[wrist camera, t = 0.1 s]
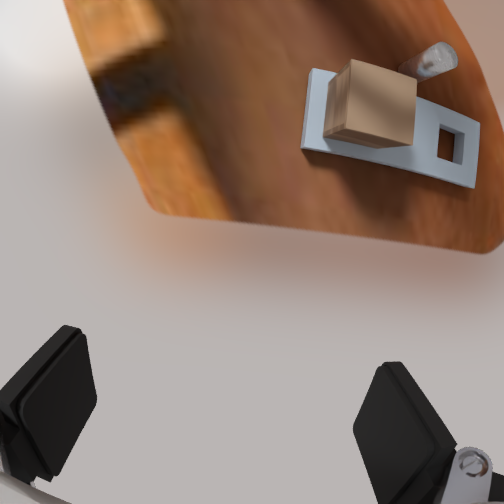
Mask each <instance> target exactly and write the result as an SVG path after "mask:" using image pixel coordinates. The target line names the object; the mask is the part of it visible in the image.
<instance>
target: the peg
mask: <svg viewBox="0 0 504 504" xmlns="http://www.w3.org/2000/svg"><path fill="white" fill-rule="evenodd" d="M457 64H458V57H457V55H456V52H455V51H454V49H453V48H452V47H451V46H450V45H448V44H447V43H445V42H439V43H437V44H435V45H433V46H431V47H430V48H428V49H426V50H424V51H423V52H421V53H419V54H417V55H416V56H414V57H412V58H411V59H409V60H407V61H406V62H404V63H402V64H401V65H400V66H399V67H398V73H400V74H403V75H406V76H409V77H412V78H414V79H417V83H419V82H422V81H424V80H426V79H429V78H431V77H434V76H436V75H438V74H441V73H443V72H446V71H448V70H451V69H453V68H455V67H456V66H457Z"/></svg>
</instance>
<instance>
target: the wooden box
mask: <svg viewBox="0 0 504 504" xmlns="http://www.w3.org/2000/svg"><path fill="white" fill-rule="evenodd" d="M416 93H417V79H414V78H412V77H409V76H406V75H403V74H400V73H397V72H394V71H391V70H388V69H385V68H382V67H379V66H376V65H372V64H369V63H365V62H362V61H358V60H354V59H351V60H350V61H349V62H348V63H347V64H346V65H345V66H344V67H343V68H342V69H341V70H340V71H339V72H338V73H337V74H336V75H335V76H334V77H333V78H332V79H331V80H330V81H329V82H328V91H327V101H326V110H325V119H324V128H323V136H322V137H323V138H329V139H334V140H339V141H344V142H348V143H353V144H358V145H362V146H367V147H371V148H375V149H381V148H390V147H401V146H411V145H413V138H414V127H415V113H416Z"/></svg>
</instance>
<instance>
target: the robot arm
mask: <svg viewBox="0 0 504 504" xmlns="http://www.w3.org/2000/svg"><path fill="white" fill-rule="evenodd" d="M96 403H97V395H96V390H95V385H94V380H93V376H92V369H91V364H90V358H89V352H88V345H87V339H86V336H85V334H82V331H81V329H79V328H76V327H72V326H68V325H64V326H62V327H61V328H60V329H59V330H58V331H57V332H56V333H55V334H54V335H53V336H52V337H51V338H50V339H49V340H48V341H47V342H46V343H45V344H44V345H43V346H42V347H41V348H40V349H39V350H38V351H37V352H36V353H35V354H34V355H33V356H32V357H31V358H30V359H29V360H28V361H27V362H26V363H25V364H24V365H23V366H22V367H21V368H20V370H19V371H18V372H17V373H16V374H15V375H14V376H13V377H12V378H11V379H10V380H9V381H8V382H7V383H6V385H5V386H4V387H3V388H2V389H1V390H0V504H71V503H68V502H66V501H64V500H61V499H59V498H56V497H54V496H51V495H49V494H47V493H45V492H42V491H40V490H38V489H36V488H35V484H34V480H35V478H36V476H38V477H40V478H42V479H44V480H46V481H48V482H51V480H52V478H53V476H58V475H59V474H60V472H61V470H62V468H63V466H64V464H65V462H66V460H67V458H68V456H69V454H70V452H71V450H72V448H73V446H74V445H75V443H76V441H77V439H78V437H79V435H80V433H81V431H82V429H83V428H84V426H85V424H86V422H87V420H88V419H89V417H90V415H91V413H92V411H93V409H94V408H95V406H96ZM353 433H354V436H355V438H356V441H357V444H358V447H359V450H360V453H361V455H362V458H363V461H364V464H365V467H366V469H367V473H368V475H369V478H370V481H371V484H372V487H373V490H374V493H375V496H376V499H377V502H378V504H504V476H503V475H500V474H497V473H495V472H492V469H493V468H492V462H491V459H490V458H489V456H488V455H487V454H486V453H485V452H483V451H482V450H480V449H478V448H474V447H464V448H462V449H460V450H459V451H458V452H456V450H455V449H454V448H455V447H456V445H457V443H456V441H455V440H454V438H453V437H452V435H451V434H450V432H449V430H448V429H447V427H446V426H445V424H444V423H443V421H442V420H441V418H440V417H439V416H438V414H437V413H436V411H435V409H434V408H433V406H432V405H431V403H430V402H429V400H428V399H427V398H426V396H425V395H424V393H423V392H422V390H421V389H420V387H419V386H418V385H417V383H416V382H415V380H414V379H413V377H412V376H411V375H410V373H409V372H408V370H407V369H406V368H405V366H404V365H403V364H402V363H401V362H384V363H383V364H382V366H379V367H378V368H377V370H376V372H375V375H374V377H373V380H372V383H371V385H370V388H369V390H368V392H367V395H366V397H365V400H364V402H363V404H362V406H361V409H360V411H359V413H358V415H357V418H356V420H355V422H354V425H353Z"/></svg>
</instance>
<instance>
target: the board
mask: <svg viewBox="0 0 504 504" xmlns="http://www.w3.org/2000/svg"><path fill="white" fill-rule="evenodd" d="M336 74H337V73H334V72H330V71H325V70H320V69H315V68H313V69H312V70H311V72H310V73H309V79H308V89H307V98H306V107H305V115H304V124H303V132H302V140H301V148H302V149H309V150H314V151H320V152H326V153H331V154H336V155H342V156H347V157H351V158H356V159H361V160H366V161H370V162H375V163H379V164H383V165H388V166H392V167H396V168H400V169H404V170H408V171H411V172H415V173H419V174H423V175H426V176H430V177H433V178H437V179H440V180H444V181H447V182H450V183H454V184H457V185H460V186H463V187H468V188H475V181H476V172H477V163H478V152H479V137H480V123H479V122H477V121H475V120H473V119H470V118H468V117H466V116H464V115H462V114H459V113H457V112H455V111H452V110H450V109H448V108H445V107H443V106H440V105H438V104H435V103H433V102H430V101H428V100H425V99H422V98H420V97H417V96H416V113H415V127H414V138H413V145H411V146H401V147H390V148H381V149H375V148H371V147H367V146H362V145H358V144H353V143H348V142H344V141H339V140H334V139H329V138H323V137H322V136H323V128H324V119H325V110H326V101H327V91H328V82H329V81H330V80H331V79H332V78H333V77H334V76H335V75H336ZM439 128H440V129H443V130H446V131H448V132H451V133H453V134H455V142H454V153H453V162H450V161H447V160H444V159H441V158H438V157H437V149H438V138H439Z"/></svg>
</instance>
